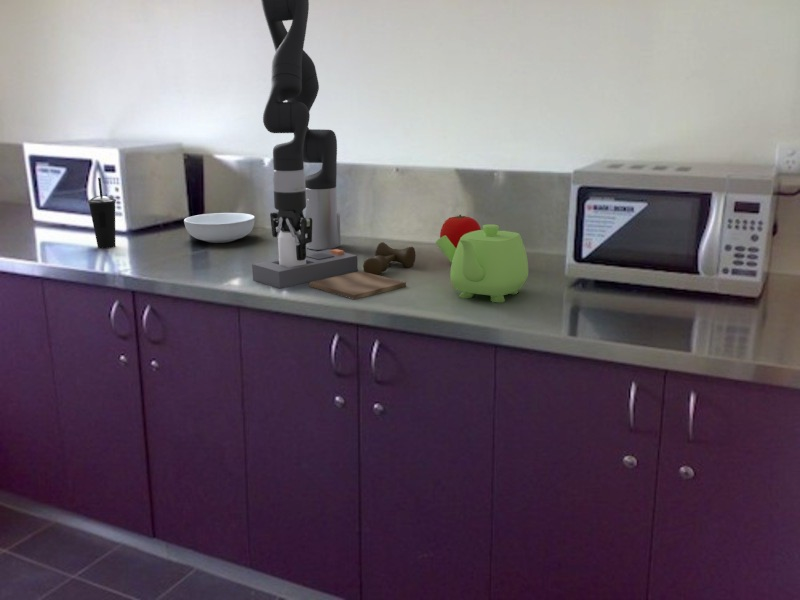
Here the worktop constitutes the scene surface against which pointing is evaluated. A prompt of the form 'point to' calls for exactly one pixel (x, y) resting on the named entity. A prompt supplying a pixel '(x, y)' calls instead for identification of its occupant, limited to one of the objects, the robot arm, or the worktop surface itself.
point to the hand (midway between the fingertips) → (292, 257)
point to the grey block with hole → (305, 268)
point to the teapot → (487, 262)
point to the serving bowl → (219, 226)
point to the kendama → (389, 258)
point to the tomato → (458, 228)
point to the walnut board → (357, 284)
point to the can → (288, 250)
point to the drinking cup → (103, 219)
